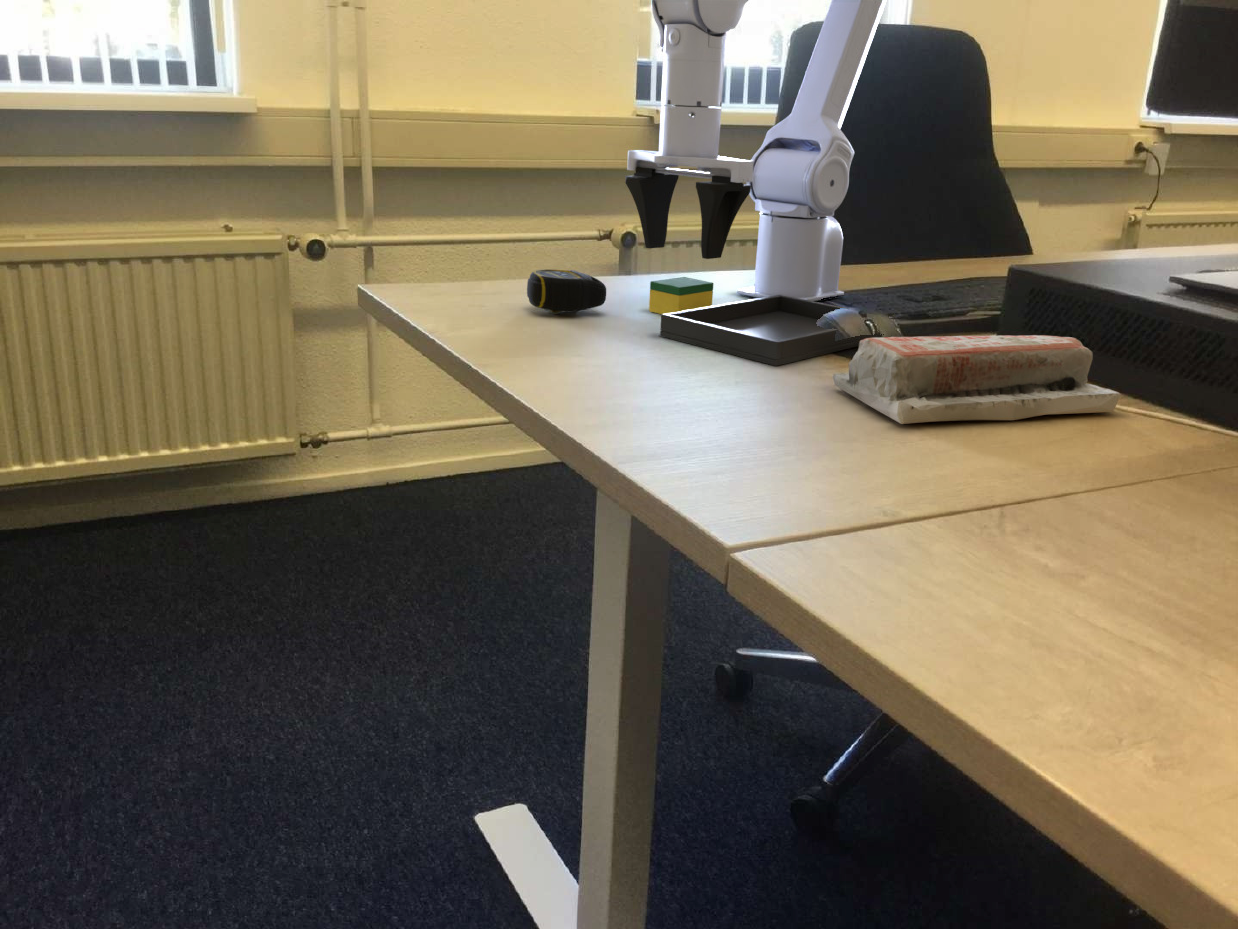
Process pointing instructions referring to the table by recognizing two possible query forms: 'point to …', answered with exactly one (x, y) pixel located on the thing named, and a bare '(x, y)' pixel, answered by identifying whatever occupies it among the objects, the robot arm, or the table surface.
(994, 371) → the packaged product
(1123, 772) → the table surface
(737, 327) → the tray
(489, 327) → the table surface
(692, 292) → the sponge
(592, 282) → the tape measure
